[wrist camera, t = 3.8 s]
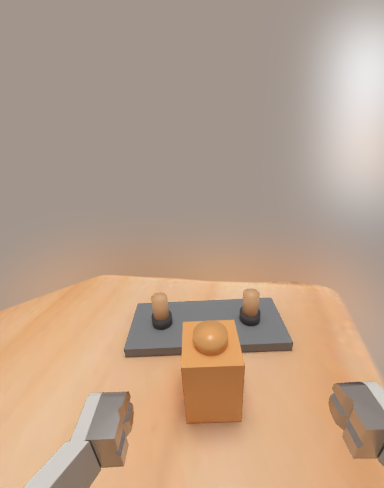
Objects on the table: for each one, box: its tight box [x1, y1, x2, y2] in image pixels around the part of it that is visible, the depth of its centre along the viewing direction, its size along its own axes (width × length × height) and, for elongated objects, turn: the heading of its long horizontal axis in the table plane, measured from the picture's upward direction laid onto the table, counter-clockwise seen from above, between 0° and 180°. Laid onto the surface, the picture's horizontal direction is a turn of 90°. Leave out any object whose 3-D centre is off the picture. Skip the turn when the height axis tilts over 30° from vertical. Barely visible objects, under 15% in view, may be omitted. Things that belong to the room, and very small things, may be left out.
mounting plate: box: [124, 289, 293, 357], centre depth 37 cm, size 24×10×6 cm, turn 90°
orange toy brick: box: [181, 320, 245, 423], centre depth 27 cm, size 6×6×10 cm
